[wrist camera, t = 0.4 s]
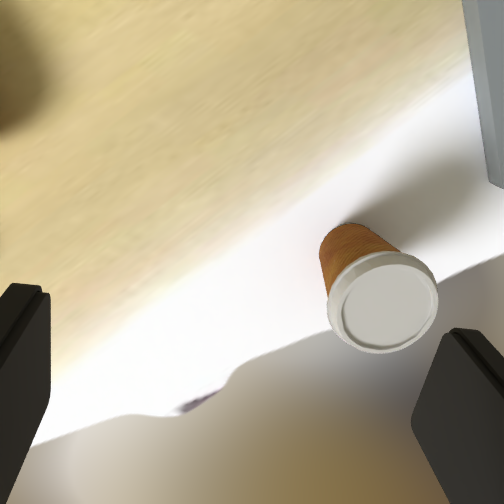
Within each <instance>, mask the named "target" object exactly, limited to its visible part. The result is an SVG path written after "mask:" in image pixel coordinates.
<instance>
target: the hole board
mask: <svg viewBox="0 0 504 504" xmlns="http://www.w3.org/2000/svg"><path fill="white" fill-rule="evenodd" d="M462 4H463V11H464V17H465V24H466V31H467V37H468V44H469V51H470V58H471V64H472V71H473V78H474V84H475V91H476V98H477V104H478V111H479V118H480V124H481V131H482V138H483V144H484V151H485V158H486V164H487V171H488V178H489V182H490V183H492V184H494V185H496V186H498V187H500V188H502V189H504V0H462Z"/></svg>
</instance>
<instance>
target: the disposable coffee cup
mask: <svg viewBox="0 0 504 504" xmlns="http://www.w3.org/2000/svg"><path fill="white" fill-rule="evenodd" d="M319 259H320V262H321V267H322V272H323V277H324V281H325V287H326V291H327V296H328V301H327V315H328V320H329V322H330V325H331V327H332V329H333V330H334V332H335V333H336V334H337V336H338V337H340V338H341V339H342V340H344V341H345V342H346V343H348V344H350V345H351V346H353V347H355V348H357V349H359V350H360V351H364V352H369V353H373V354H377V353H390V352H394V351H398V350H401V349H403V348H405V347H407V346H409V345H410V344H412V343H414V342H415V341H416V340H417V339H419V338H420V337H422V336H423V335H424V333H425V332H426V331H427V330H428V329H429V327H430V325H431V324H432V322H433V321H434V318H435V316H436V313H437V309H438V295H437V292H438V291H437V285H436V281H435V278H434V276H433V273H432V272H431V271H430V270H429V268H428V267H427V266H426V265H425V264H424V263H423V262H422V261H420V260H419V259H417V258H416V257H414V256H411V255H408V254H405V253H402V252H400V251H399V250H397V249H396V248H395V247H393V246H392V245H391V244H389V243H388V242H386V241H385V240H383V239H382V238H381V237H379V236H378V235H376V234H375V233H374V232H372V231H371V230H370V229H368V228H367V227H365V226H362V225H359V224H345V225H342V226H339V227H337V228H335V229H333V230H332V231H331V232H329V234H328V235H327V236H326V237H325V238H324V240H323V242H322V244H321V246H320V251H319Z"/></svg>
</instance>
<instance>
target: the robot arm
mask: <svg viewBox="0 0 504 504" xmlns="http://www.w3.org/2000/svg"><path fill="white" fill-rule="evenodd" d="M50 392H51V299H50V294H49V293H43V292H42V288H41V286H39V285H29V284H20V283H12V284H11V285H10V286H9V287H8V288H7V289H6V291H5V292H4V293H3V295H2V296H1V297H0V504H6V502H7V500H8V497H9V495H10V493H11V490H12V488H13V486H14V483H15V481H16V479H17V476H18V474H19V472H20V469H21V467H22V465H23V462H24V460H25V458H26V455H27V453H28V451H29V448H30V446H31V444H32V441H33V439H34V437H35V434H36V432H37V430H38V427H39V425H40V423H41V420H42V418H43V415H44V413H45V411H46V408H47V406H48V403H49V398H50ZM411 427H412V430H413V433H414V434H415V436H416V438H417V440H418V442H419V444H420V446H421V448H422V450H423V452H424V454H425V456H426V458H427V460H428V461H429V463H430V465H431V467H432V469H433V471H434V473H435V475H436V477H437V479H438V481H439V483H440V485H441V487H442V489H443V490H444V493H445V494H446V496H447V498H448V500H449V502H450V504H504V357H503V356H502V355H501V354H500V353H499V352H498V351H497V350H496V348H494V346H493V345H492V344H491V343H490V342H489V341H488V340H487V339H486V338H485V336H484V335H483V334H482V333H481V332H480V331H478V330H472V329H462V328H453V329H452V330H450V331H449V333H446V334H444V335H443V337H442V339H441V342H440V344H439V347H438V349H437V352H436V354H435V357H434V360H433V362H432V365H431V367H430V370H429V372H428V375H427V378H426V380H425V383H424V385H423V388H422V390H421V393H420V396H419V398H418V401H417V403H416V406H415V408H414V411H413V414H412V417H411Z"/></svg>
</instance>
